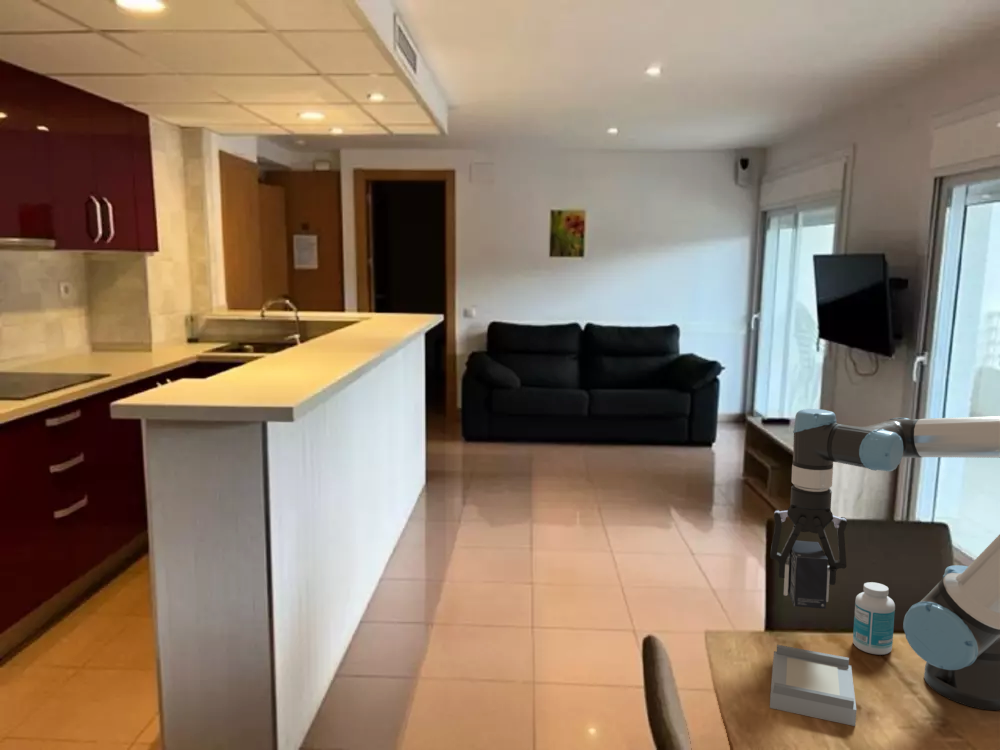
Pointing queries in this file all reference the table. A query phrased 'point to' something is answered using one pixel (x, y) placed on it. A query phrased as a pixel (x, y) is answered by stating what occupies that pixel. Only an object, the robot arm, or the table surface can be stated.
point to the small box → (807, 575)
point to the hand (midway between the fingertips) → (805, 595)
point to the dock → (813, 685)
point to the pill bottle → (874, 619)
